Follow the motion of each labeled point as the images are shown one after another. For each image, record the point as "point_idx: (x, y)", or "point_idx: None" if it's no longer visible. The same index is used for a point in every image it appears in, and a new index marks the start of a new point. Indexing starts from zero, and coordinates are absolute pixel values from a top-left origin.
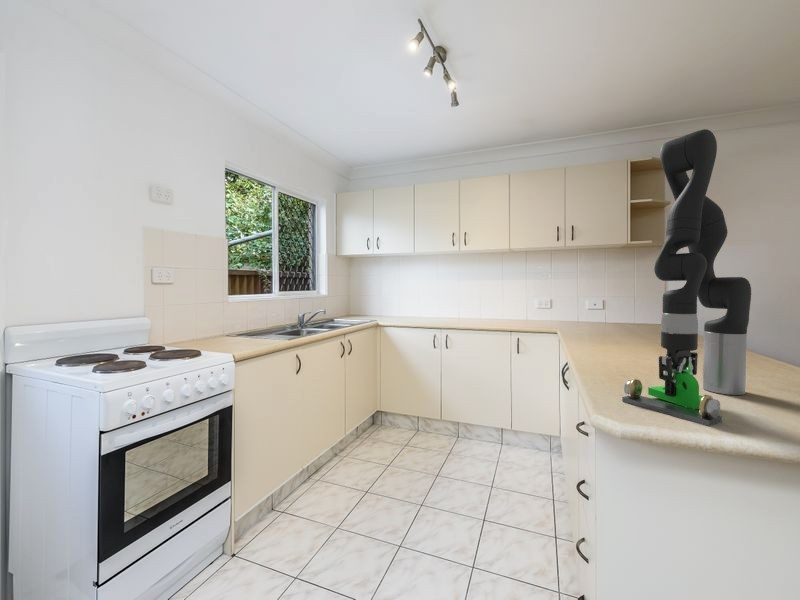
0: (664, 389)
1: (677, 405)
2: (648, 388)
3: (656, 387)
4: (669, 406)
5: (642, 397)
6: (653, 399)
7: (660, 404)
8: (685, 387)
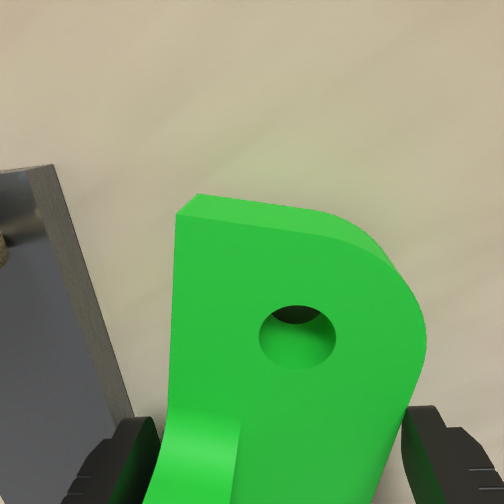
0: (318, 304)
1: None
2: (180, 212)
3: (266, 257)
4: (47, 456)
5: (17, 271)
6: (68, 337)
7: (20, 418)
8: (416, 475)
